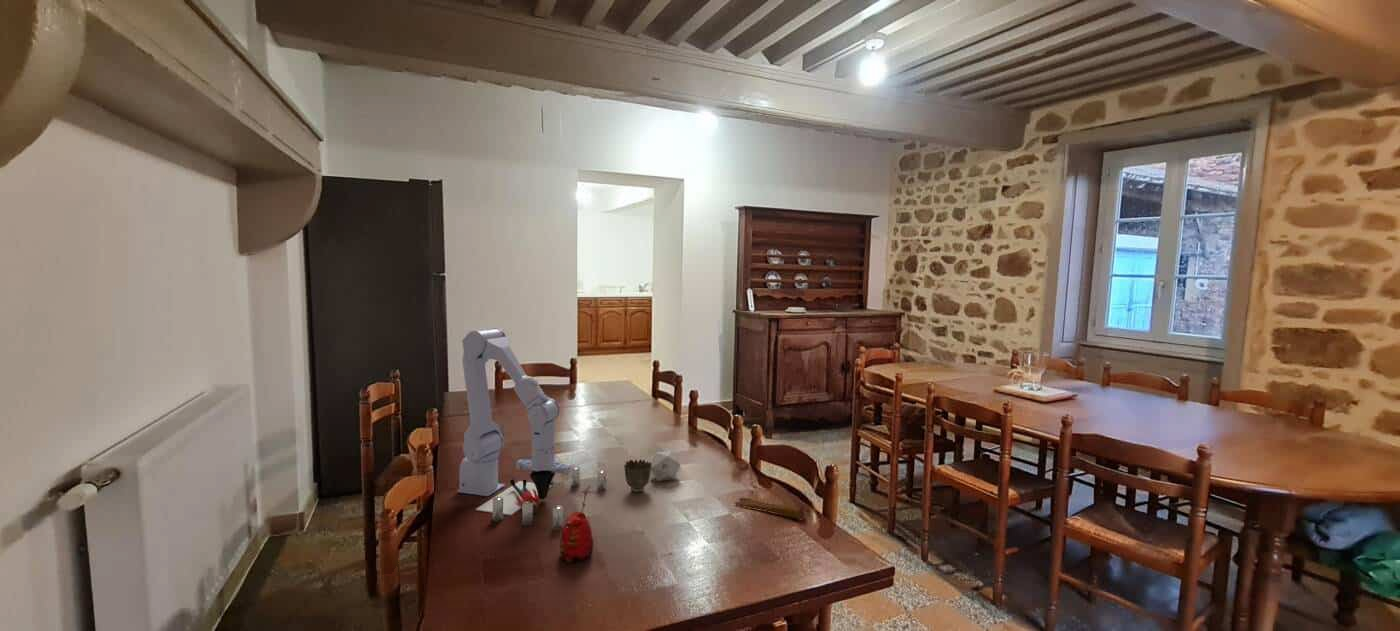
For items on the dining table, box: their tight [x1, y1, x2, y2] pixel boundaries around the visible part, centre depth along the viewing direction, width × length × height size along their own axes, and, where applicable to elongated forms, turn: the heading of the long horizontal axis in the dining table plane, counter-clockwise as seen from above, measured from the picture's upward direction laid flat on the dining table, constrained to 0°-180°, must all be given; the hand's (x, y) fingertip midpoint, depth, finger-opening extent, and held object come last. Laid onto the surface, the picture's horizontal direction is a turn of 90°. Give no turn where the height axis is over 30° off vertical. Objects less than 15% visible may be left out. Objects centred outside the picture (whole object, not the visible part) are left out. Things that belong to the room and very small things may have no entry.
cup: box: [623, 459, 652, 494], centre depth 158 cm, size 8×7×8 cm
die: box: [650, 450, 681, 482], centre depth 169 cm, size 8×9×10 cm
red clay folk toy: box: [559, 485, 594, 564], centre depth 122 cm, size 8×7×15 cm
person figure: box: [509, 478, 539, 514], centre depth 149 cm, size 5×4×18 cm
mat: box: [475, 480, 552, 517], centre depth 152 cm, size 10×20×1 cm, turn 166°
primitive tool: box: [734, 497, 805, 521], centre depth 149 cm, size 19×6×4 cm, turn 60°
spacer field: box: [492, 466, 607, 531], centre depth 149 cm, size 18×27×5 cm
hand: (542, 497), depth 150 cm, fingers closed
